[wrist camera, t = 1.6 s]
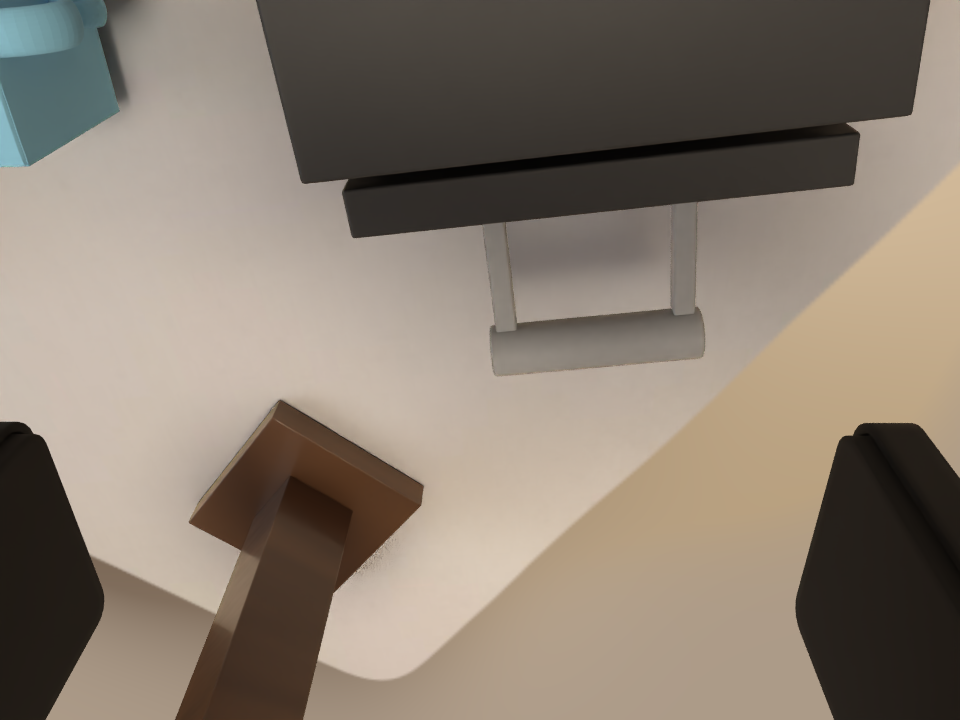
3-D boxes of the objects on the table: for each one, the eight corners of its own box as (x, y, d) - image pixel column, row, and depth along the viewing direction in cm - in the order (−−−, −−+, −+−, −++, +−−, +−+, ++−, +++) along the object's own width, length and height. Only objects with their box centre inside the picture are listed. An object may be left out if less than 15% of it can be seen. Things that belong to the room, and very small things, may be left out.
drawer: (752, 277, 27) (827, 399, 20) (420, 309, 28) (395, 435, 21) (795, -415, 18) (952, -571, 11) (302, -330, 19) (201, -432, 12)
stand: (280, 399, 31) (2, 1042, 14) (424, 486, 33) (337, 1135, 16) (197, 503, 34) (-113, 1137, 17) (334, 576, 36) (182, 1205, 19)
